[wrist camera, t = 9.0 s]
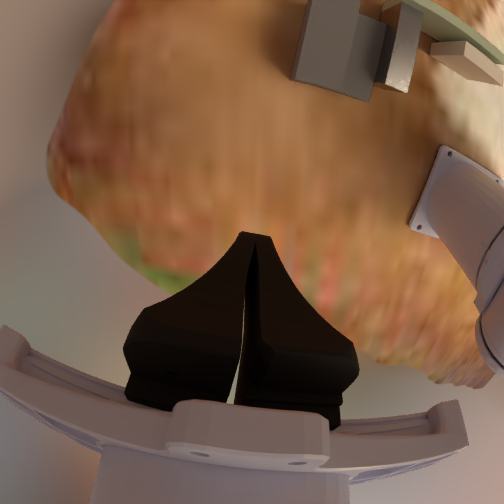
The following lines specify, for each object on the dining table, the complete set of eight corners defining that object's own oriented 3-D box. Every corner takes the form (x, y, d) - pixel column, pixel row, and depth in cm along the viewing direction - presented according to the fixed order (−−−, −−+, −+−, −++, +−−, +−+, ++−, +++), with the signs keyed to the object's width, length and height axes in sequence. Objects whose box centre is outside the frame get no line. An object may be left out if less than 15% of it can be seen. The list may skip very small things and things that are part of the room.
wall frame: (470, 68, 12) (510, 74, 8) (464, 84, 13) (504, 94, 9) (302, -30, 10) (310, -59, 6) (293, -12, 11) (300, -39, 7)
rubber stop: (376, 28, 12) (402, 17, 9) (359, 99, 16) (382, 106, 12) (306, 6, 12) (315, -14, 8) (289, 80, 16) (295, 79, 12)
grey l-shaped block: (469, 52, 11) (505, 55, 7) (453, 123, 15) (487, 138, 11) (382, 3, 11) (410, -11, 7) (366, 82, 15) (392, 84, 11)
